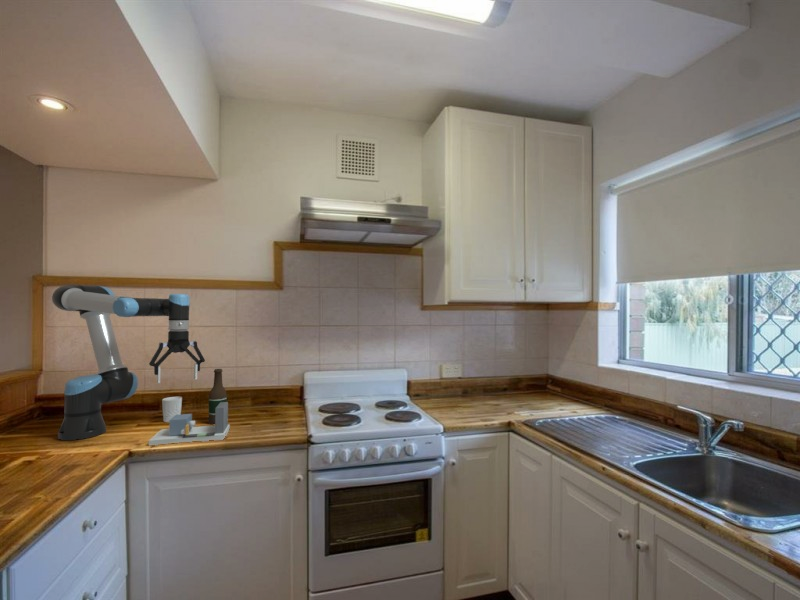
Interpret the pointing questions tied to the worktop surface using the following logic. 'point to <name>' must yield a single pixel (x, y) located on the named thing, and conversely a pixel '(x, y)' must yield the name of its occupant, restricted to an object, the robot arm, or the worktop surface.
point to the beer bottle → (216, 395)
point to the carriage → (180, 424)
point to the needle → (187, 429)
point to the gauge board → (198, 430)
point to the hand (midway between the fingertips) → (177, 380)
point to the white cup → (171, 407)
